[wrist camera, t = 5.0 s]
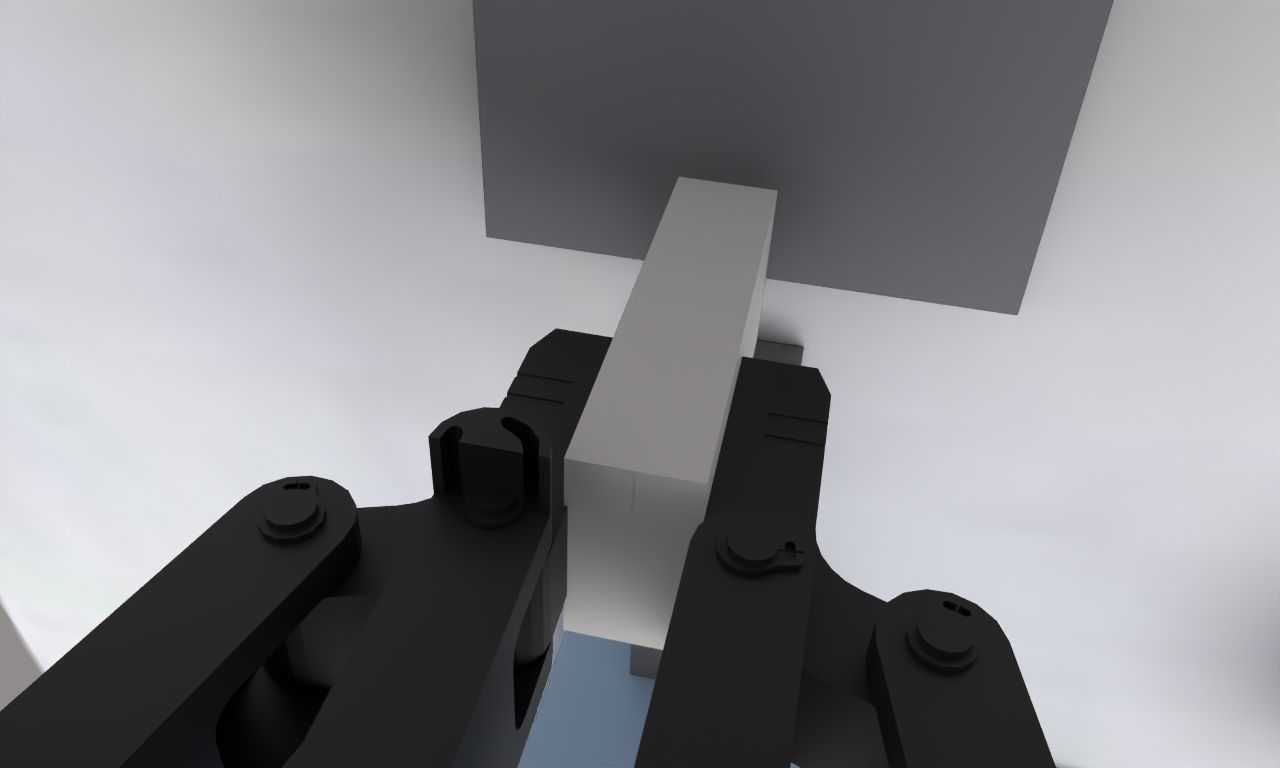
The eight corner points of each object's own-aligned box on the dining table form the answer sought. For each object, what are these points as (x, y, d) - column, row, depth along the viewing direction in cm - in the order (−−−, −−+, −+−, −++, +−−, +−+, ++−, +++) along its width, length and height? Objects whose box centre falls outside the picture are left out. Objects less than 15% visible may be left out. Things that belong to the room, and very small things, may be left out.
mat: (463, -308, 14) (454, -306, 14) (1186, -257, 13) (1190, -253, 13) (491, 228, 19) (486, 236, 19) (1016, 305, 18) (1017, 314, 18)
